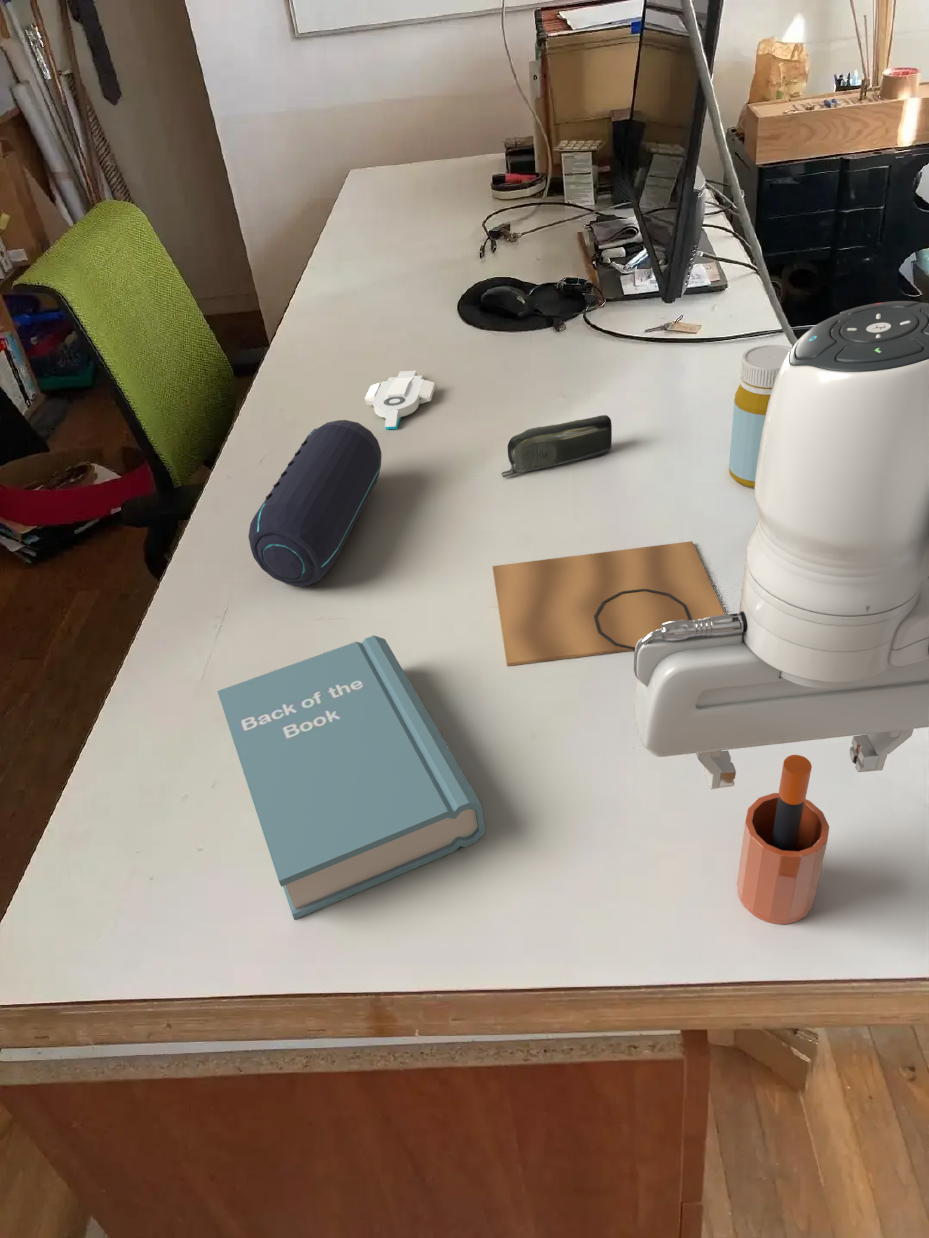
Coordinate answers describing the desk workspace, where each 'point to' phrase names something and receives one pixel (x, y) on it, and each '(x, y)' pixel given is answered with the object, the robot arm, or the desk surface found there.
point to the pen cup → (780, 863)
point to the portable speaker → (315, 503)
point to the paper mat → (598, 600)
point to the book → (347, 773)
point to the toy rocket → (399, 396)
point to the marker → (791, 801)
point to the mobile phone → (559, 444)
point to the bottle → (752, 409)
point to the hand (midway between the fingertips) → (791, 772)
